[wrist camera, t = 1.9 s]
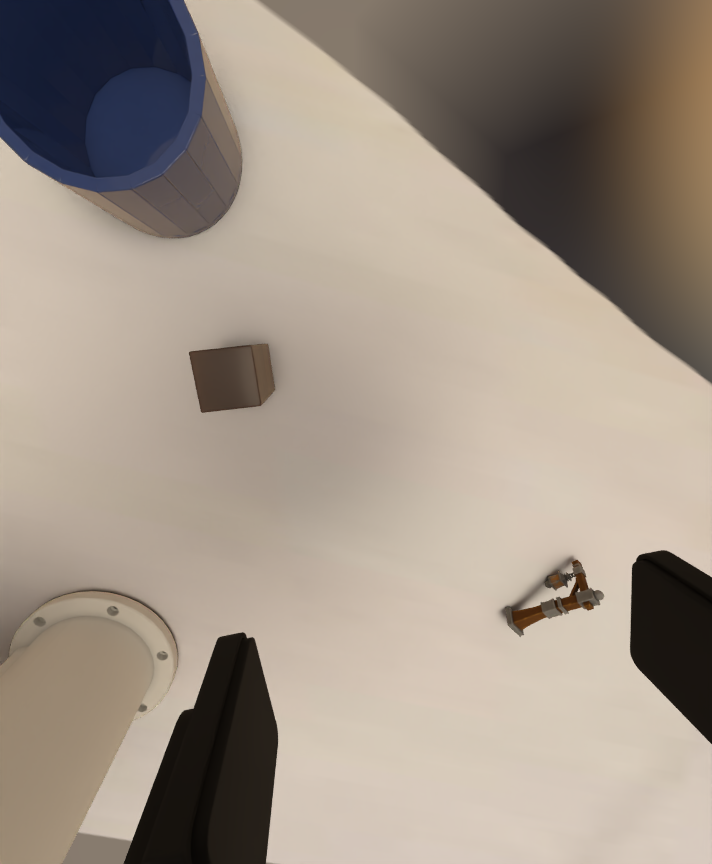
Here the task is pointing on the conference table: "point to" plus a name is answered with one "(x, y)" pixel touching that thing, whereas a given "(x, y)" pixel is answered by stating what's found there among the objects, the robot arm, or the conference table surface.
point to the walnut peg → (232, 377)
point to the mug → (120, 109)
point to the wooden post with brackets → (557, 607)
